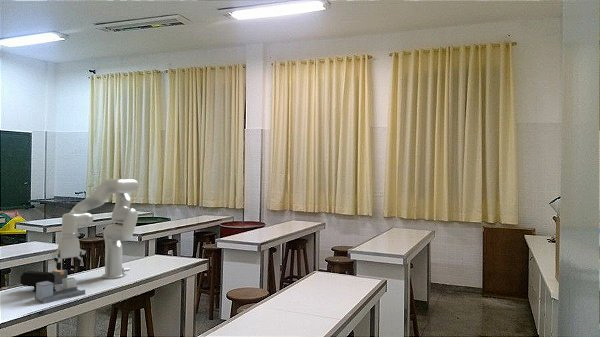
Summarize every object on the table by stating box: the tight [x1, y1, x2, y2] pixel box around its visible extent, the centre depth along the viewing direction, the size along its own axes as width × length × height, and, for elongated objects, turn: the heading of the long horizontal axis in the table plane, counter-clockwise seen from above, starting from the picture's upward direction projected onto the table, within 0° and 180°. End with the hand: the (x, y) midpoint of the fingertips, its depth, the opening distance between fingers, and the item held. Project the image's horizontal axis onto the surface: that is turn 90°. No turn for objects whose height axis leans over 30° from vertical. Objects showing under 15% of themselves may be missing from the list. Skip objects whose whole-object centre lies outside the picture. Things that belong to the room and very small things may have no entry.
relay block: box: [51, 269, 69, 285], centre depth 239 cm, size 5×6×7 cm
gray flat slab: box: [34, 286, 86, 305], centre depth 213 cm, size 20×10×2 cm, turn 142°
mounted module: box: [35, 281, 54, 301], centre depth 207 cm, size 5×7×8 cm
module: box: [61, 277, 77, 290], centre depth 225 cm, size 5×6×6 cm
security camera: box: [19, 270, 57, 293], centre depth 222 cm, size 7×18×10 cm, turn 79°
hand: (68, 268), depth 224 cm, fingers open, 9 cm apart
